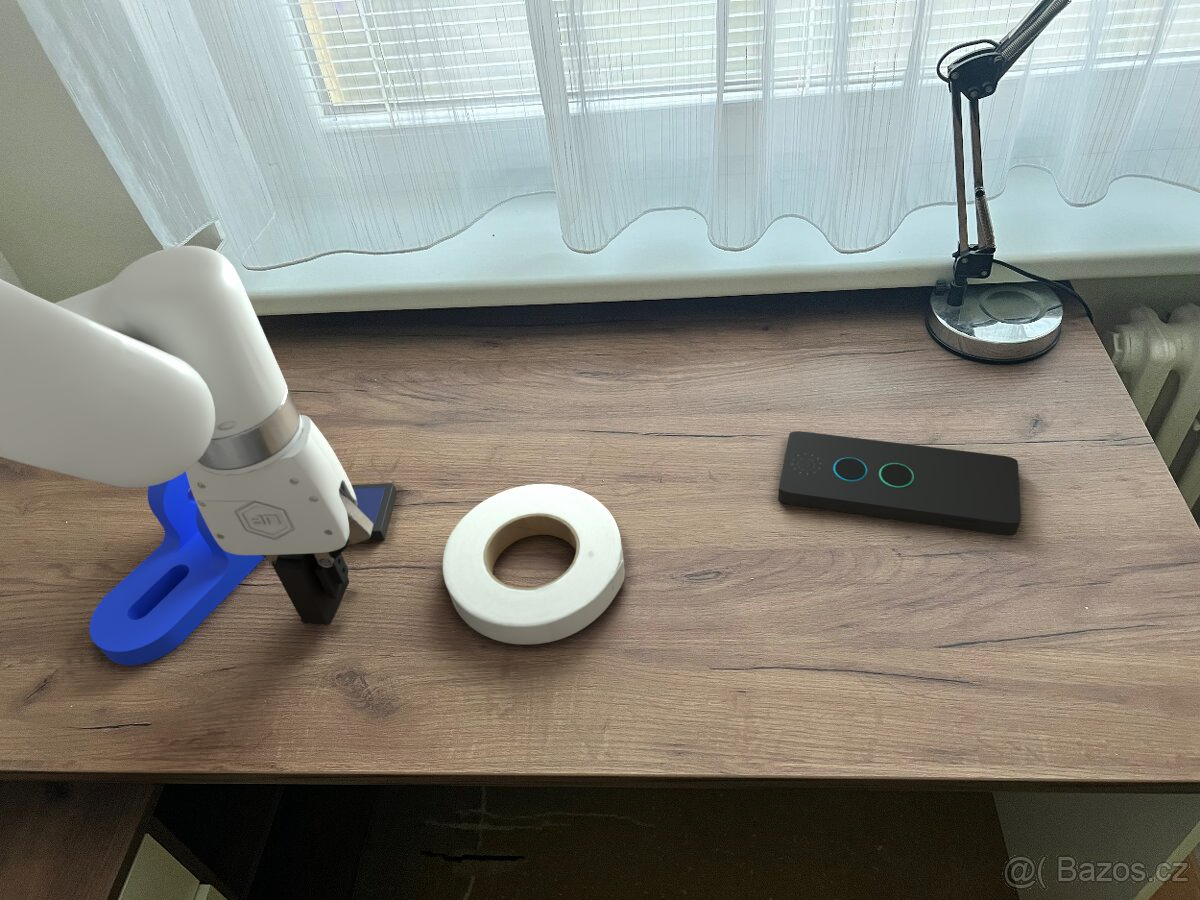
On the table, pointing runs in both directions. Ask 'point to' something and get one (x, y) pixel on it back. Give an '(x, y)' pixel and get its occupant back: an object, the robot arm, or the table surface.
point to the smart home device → (902, 482)
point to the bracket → (168, 583)
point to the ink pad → (376, 506)
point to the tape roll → (545, 606)
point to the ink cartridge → (307, 588)
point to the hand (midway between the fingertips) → (323, 584)
